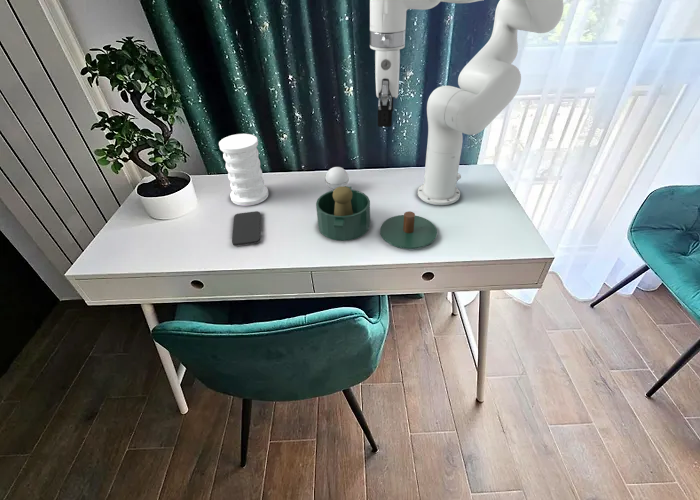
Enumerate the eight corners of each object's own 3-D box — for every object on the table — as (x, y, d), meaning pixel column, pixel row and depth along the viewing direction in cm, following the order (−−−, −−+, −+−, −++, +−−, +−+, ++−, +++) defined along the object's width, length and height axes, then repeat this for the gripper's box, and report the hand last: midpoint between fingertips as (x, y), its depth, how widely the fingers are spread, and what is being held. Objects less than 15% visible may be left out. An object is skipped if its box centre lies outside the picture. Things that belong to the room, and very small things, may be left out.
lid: (435, 218, 112) (437, 200, 109) (438, 252, 101) (440, 232, 97) (381, 216, 114) (381, 198, 110) (378, 249, 102) (378, 230, 98)
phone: (260, 210, 117) (260, 240, 105) (260, 213, 117) (260, 243, 106) (234, 213, 116) (231, 244, 104) (234, 216, 117) (232, 246, 105)
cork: (352, 231, 108) (351, 195, 101) (330, 229, 109) (328, 194, 102) (356, 218, 113) (355, 184, 106) (335, 217, 114) (333, 182, 107)
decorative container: (223, 199, 124) (208, 144, 113) (249, 183, 132) (238, 130, 121) (250, 209, 119) (237, 153, 108) (276, 192, 127) (267, 138, 116)
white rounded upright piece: (324, 184, 130) (323, 163, 125) (347, 182, 130) (346, 161, 126) (327, 200, 122) (325, 178, 117) (351, 198, 123) (350, 176, 118)
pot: (372, 207, 118) (372, 184, 113) (366, 248, 103) (366, 224, 98) (324, 205, 120) (322, 183, 115) (312, 245, 104) (309, 222, 100)
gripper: (404, 48, 79) (400, 132, 89) (405, 31, 92) (401, 106, 103) (366, 49, 79) (367, 132, 90) (372, 31, 93) (372, 106, 104)
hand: (385, 118), depth 96 cm, fingers open, 9 cm apart
